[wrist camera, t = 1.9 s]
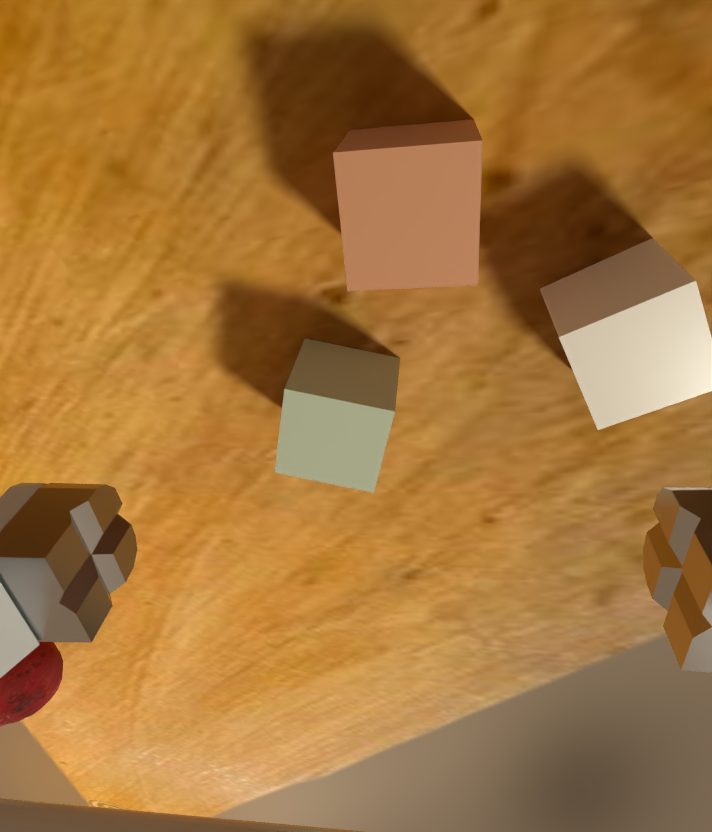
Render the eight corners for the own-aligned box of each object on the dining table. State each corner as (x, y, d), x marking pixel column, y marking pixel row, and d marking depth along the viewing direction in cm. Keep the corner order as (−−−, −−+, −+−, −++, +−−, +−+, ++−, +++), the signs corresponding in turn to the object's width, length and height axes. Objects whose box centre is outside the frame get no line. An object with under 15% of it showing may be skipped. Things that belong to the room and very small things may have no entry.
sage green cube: (305, 337, 29) (284, 388, 25) (400, 357, 29) (394, 411, 25) (294, 415, 32) (274, 472, 28) (381, 432, 32) (373, 492, 28)
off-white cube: (539, 288, 26) (558, 337, 22) (652, 237, 25) (695, 280, 20) (574, 371, 29) (597, 430, 25) (680, 330, 27) (724, 386, 23)
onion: (62, 614, 46) (0, 712, 39) (92, 656, 49) (39, 753, 43) (0, 614, 47) (-70, 710, 40) (33, 655, 50) (-27, 750, 44)
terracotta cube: (350, 129, 23) (332, 152, 19) (473, 118, 23) (482, 140, 19) (360, 249, 26) (347, 290, 22) (470, 242, 26) (478, 285, 21)
